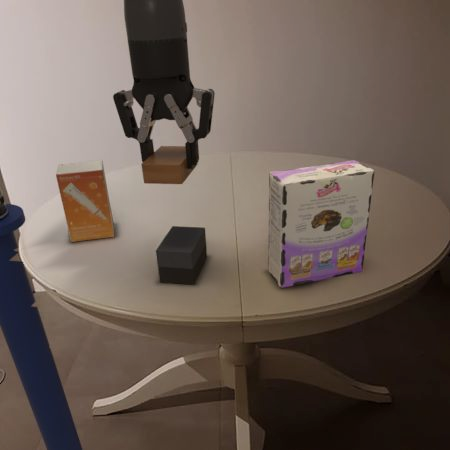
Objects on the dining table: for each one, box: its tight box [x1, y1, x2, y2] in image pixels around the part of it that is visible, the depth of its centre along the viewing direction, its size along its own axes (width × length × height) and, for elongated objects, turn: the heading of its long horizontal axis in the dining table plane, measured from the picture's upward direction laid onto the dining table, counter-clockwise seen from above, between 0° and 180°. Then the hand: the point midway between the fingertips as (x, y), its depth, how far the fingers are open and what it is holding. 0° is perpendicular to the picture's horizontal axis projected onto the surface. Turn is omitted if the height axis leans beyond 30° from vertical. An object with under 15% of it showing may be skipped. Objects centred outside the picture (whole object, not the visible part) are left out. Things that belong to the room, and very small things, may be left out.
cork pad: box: [141, 145, 198, 185], centre depth 68 cm, size 9×6×3 cm, turn 169°
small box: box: [55, 159, 115, 243], centre depth 86 cm, size 8×6×13 cm
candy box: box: [267, 159, 376, 289], centre depth 70 cm, size 14×6×16 cm, turn 106°
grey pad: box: [155, 225, 207, 269], centre depth 74 cm, size 9×6×3 cm, turn 169°
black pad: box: [157, 243, 208, 286], centre depth 76 cm, size 9×6×3 cm, turn 169°
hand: (171, 166), depth 68 cm, fingers closed on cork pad, 5 cm apart
